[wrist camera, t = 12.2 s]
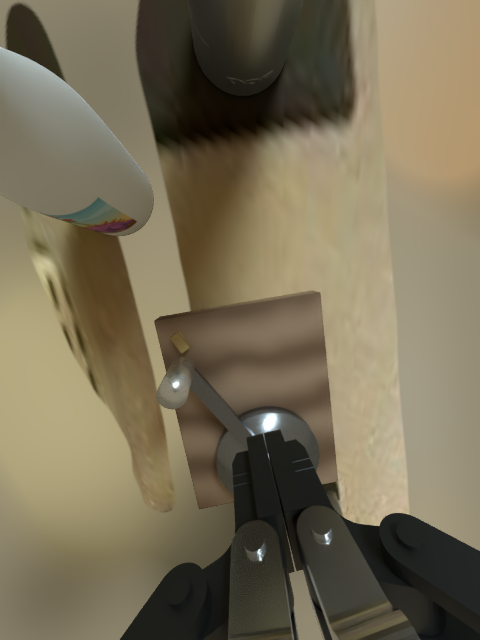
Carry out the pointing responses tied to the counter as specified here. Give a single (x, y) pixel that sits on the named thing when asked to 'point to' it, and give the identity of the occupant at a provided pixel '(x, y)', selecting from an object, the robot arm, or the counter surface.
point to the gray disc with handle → (233, 417)
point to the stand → (251, 375)
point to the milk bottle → (65, 154)
